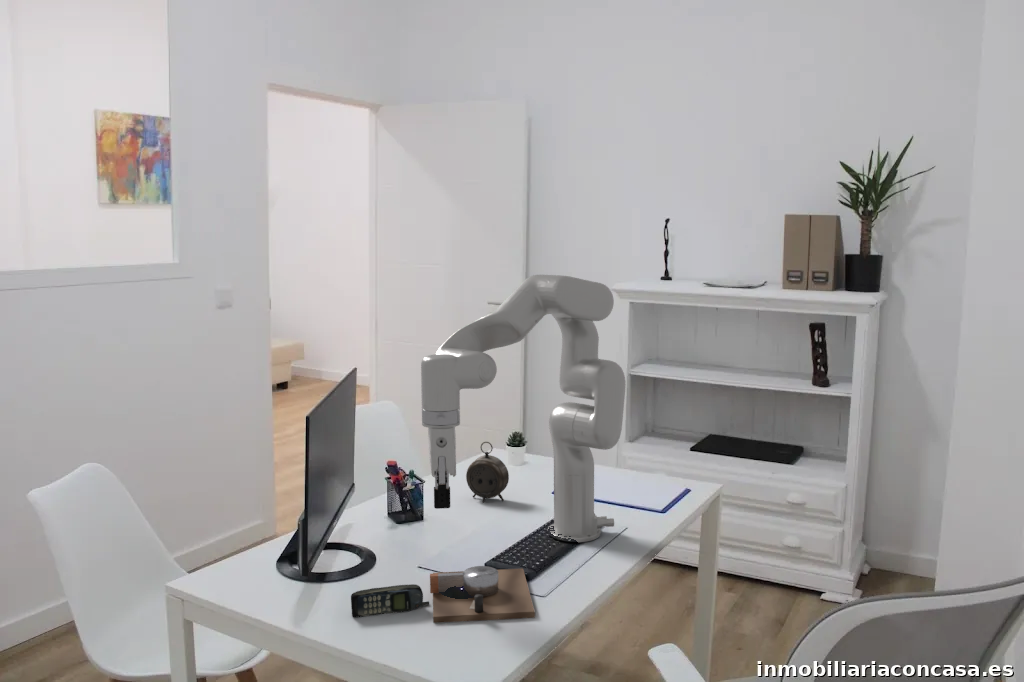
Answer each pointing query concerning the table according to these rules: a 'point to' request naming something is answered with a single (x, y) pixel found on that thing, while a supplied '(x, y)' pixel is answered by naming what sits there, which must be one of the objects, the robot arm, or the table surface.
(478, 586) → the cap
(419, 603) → the mobile phone
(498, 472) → the alarm clock
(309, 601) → the table surface
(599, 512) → the table surface
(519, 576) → the plinth
